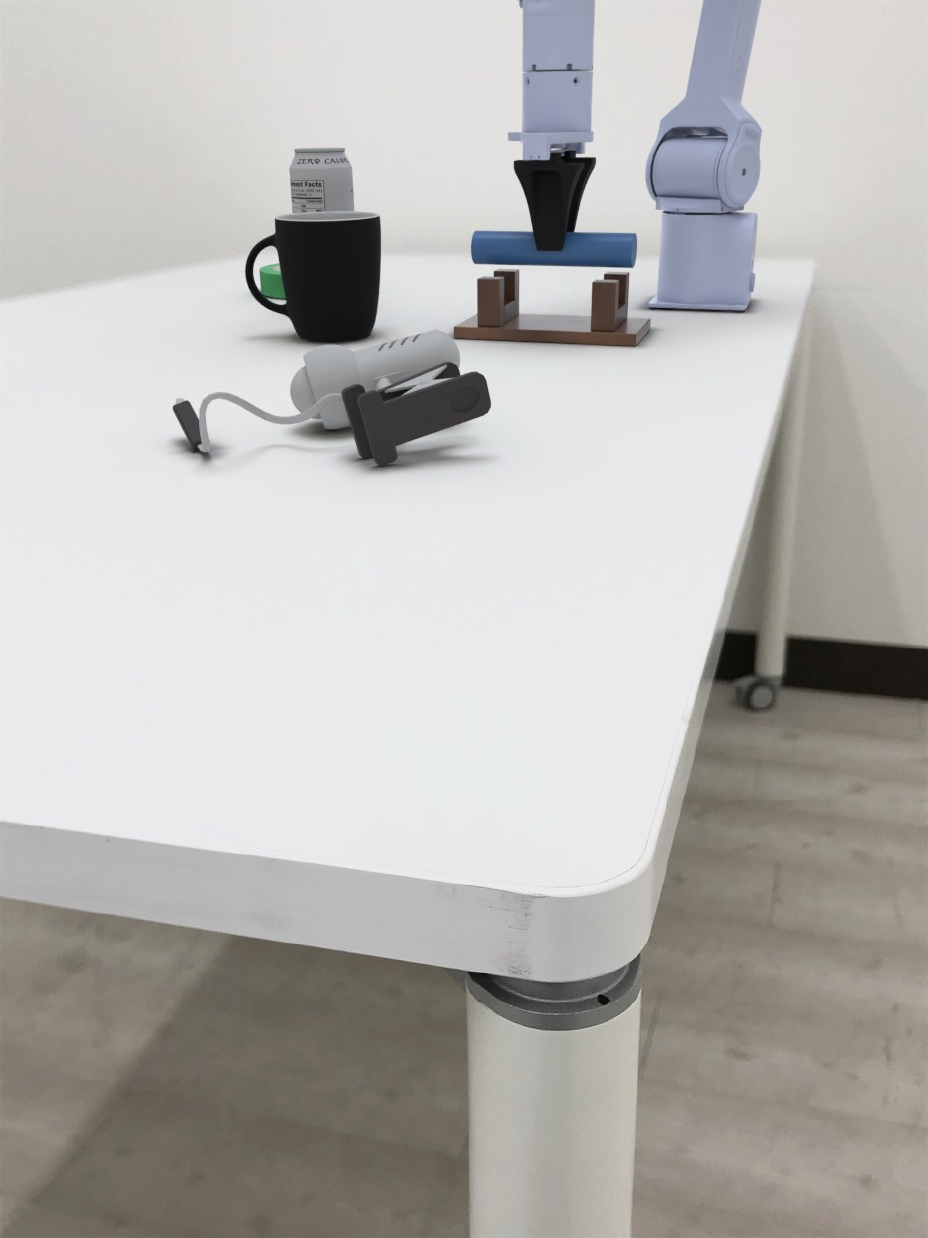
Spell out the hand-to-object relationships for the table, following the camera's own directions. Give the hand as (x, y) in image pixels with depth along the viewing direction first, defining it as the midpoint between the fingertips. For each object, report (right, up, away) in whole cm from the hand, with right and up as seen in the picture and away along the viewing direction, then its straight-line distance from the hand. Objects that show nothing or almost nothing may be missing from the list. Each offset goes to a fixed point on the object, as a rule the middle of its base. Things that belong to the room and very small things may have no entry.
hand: (554, 248), depth 95 cm
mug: (-21, -7, +3) cm, 22 cm away
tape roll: (-25, +4, +28) cm, 38 cm away
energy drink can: (-21, -1, +17) cm, 27 cm away
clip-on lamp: (-16, -21, -29) cm, 39 cm away
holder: (0, -7, +3) cm, 7 cm away
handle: (0, -1, +1) cm, 1 cm away
